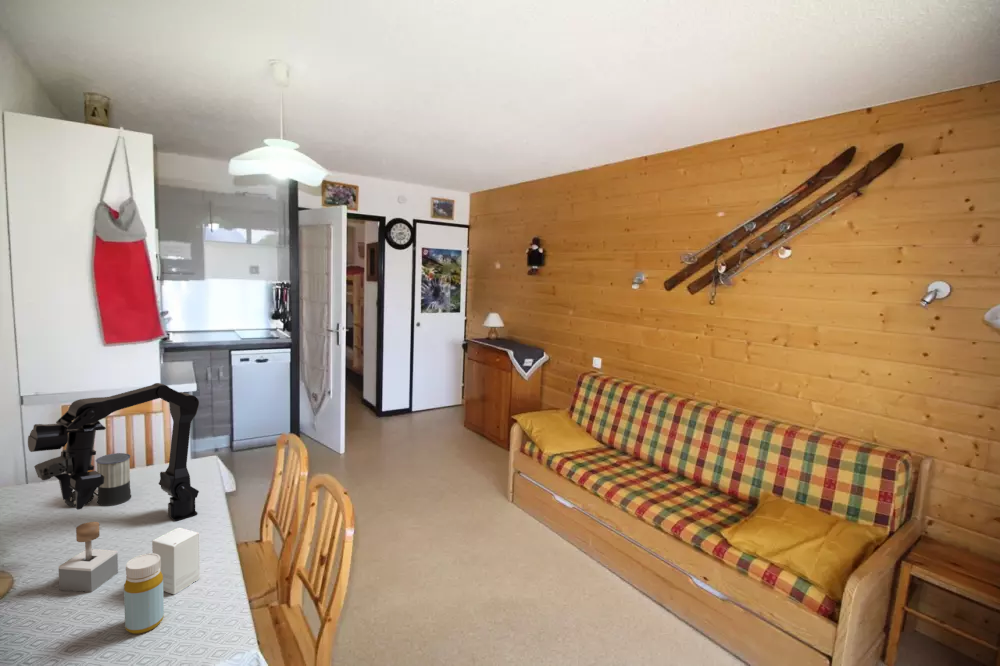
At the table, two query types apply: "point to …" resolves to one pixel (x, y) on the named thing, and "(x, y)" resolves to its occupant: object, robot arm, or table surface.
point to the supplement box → (178, 558)
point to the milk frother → (111, 481)
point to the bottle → (143, 594)
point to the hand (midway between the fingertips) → (72, 504)
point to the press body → (88, 570)
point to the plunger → (87, 536)
